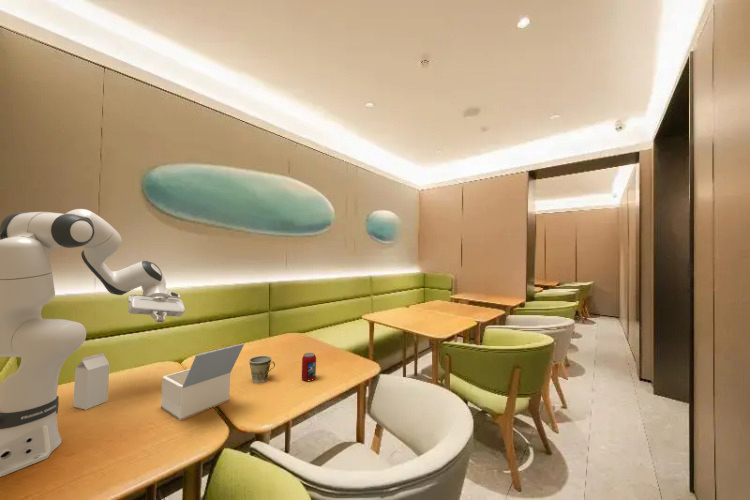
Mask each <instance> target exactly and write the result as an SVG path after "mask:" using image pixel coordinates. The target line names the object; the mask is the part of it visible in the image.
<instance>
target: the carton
mask: <svg viewBox="0 0 750 500" xmlns="http://www.w3.org/2000/svg"><path fill="white" fill-rule="evenodd" d="M189 370H190V368H188V369H184V370H181V371H177V372H173V373H169V374H167V375H166V374H165V375H162V378H161V379H162V381H161V400H160V408H161V410H164V411H165V412H166V413H167V414H169V415H171V416H172V417H174V419H177V420H178V421H180V422H182V421H184V420H186V419H189V418H190V417H191V418H192V417H193V416H196V415H198V413H199V414H201V413H203V412H206V411H208V410H210V409H209V408H211V409H213V408H215V407H218V406H220V405H223V404H225V403H227V402H230V389H231V388H230V385H231V373H228V374H225V375H221V376H218V377H215V378H212V379H209V380H206V381H203V382H200V383H197V384H194V385H191V386H188V387H185V388H183V384H184V382H185V380H186V377H187V375H188V373H189ZM212 407H213V408H212ZM207 409H208V410H207ZM205 410H206V411H205ZM202 411H203V412H202ZM200 412H201V413H200Z"/></svg>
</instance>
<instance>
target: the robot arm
mask: <svg viewBox="0 0 750 500" xmlns="http://www.w3.org/2000/svg"><path fill="white" fill-rule="evenodd" d="M122 241H123V240H122V236H121V234H120V233H119V231H118V230H116V229H115V227H113V226H112V225H111V224H110V223H109V222H107V220H105V219H104V218H102V217H101V216H99V215H98V214H96V213H94V212H93V211H91V210H89V209H85V208H75V209H72V210H70V211H67V212H65V213H60V212H51V211H34V212H33V211H22V212H16V213H12V214H9V215H7V216H5V218H3V220H2V221H1V223H0V358H20V359H21V360H20V364H19V366H18V368H17V369H16V371H14V372H13V373H11V374H9V375H7V376H6V377H5V378H4V379H3V380H2V381H1V383H0V478H1V477H4V476H6V475H9V474H11V473H13V472H16V471H19V470H21V469H24V468H26V467H29V466H31V465H33V464H37V463H39V462H41V461H43V460H46V459H48V458H49V457H50V456H51V454H52V452H53V451H54V450H55V449H57V448H58V447H59V446H60V445H61V444H62V441H63V440H62V437H61V435H60V432H59V429H58V428H59V427H58V419H57V418H58V417H57V414H59V413H58V412H59V406H60V404H59V398H60V397H59V395H58V385H59V377H60V374H61V369H62V367H63V365H64V363H65V362H66V360H68V358H69V357H70V356H71V355H72V354H74V353H75V352H76V351H78V350H79V349H80V348H81V347H82V346H83V344H84V342H85V341H86V338H87V329H86V328H85V326H84V325H83V324H82V323H80V322H78V321H73V320H70V319H69V320H68V319H65V318H43V317H42V310H43V308H44V306H46V305H47V304H49V303H50V302H51V301H53V299H54V298H55V297H56V291H55V283H54V277H53V270H52V265H51V261H50V259H49V258H50V257H49V256H50V253H51V251H52V249H62V248H66V249H73V248H78V247H79V248H80V247H81V248H82V249H83V250H82V251H81V252H80V253H81V259H82V261H83V263H84V264H85V265H86V267H87V268H88V269H89V270H90V271H91V272H92V274H94V275H95V276H96V278H97V279H98V280H99V281H100V282H101V283H102V285H103V286H104V288H105V289H106V291H107V292H108V293H109V294H111V295H116V296H123V295H125V294H127V293H129V292H131V291H134V290H135V289H137V288H139V287H141V289H142V295H141V294H140V295H139V294H131V295H128V296H127V302H128V307H127V312H128V313H129V314H131V315H143V316H144V315H146V316H147V315H148V316H150V317H151V318H152V319H153V320H154V322H155V323H164V322H165V320H166V317H179V318H180V317H181V316H183V314H184V313H185V311H186V307H185V304H184V301H183V300H182V299H181V295H180V294H179V293H177V292H173V291H171V290H169V289H167V284H166V279H165V276H164V274H163V272H162V270H161V269H160V267H159V266H158V265H157V264H156V263H154V262H152V261H149V260H148V261H147V260H141V261H139V262H136V263H133V264H132V265H129V266H127V267H125V268H122V269H119V270H115V271H112V270H111V269H110V268H109V267H108V265H107V264H106V263H105V262H106V261H108V259H110V258H111V257H112V256H114V255H116V253H117V252H118V251H119V250H120V249H121V247H122V243H123V242H122Z"/></svg>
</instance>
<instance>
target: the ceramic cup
mask: <svg viewBox="0 0 750 500" xmlns="http://www.w3.org/2000/svg"><path fill="white" fill-rule="evenodd" d="M248 362H249V367H250V373H251V374H250V375H251V380H252V382H253V383H256V384H257V383H264V382H265V381H267V380H268V377H269V373H270V372H271V371H272V370H273V369H274V368H275V366H276V363H275V361H272V357H271V356H269V355H258V356H254V357H253V356H252V357H251V358H250V359H249V361H248ZM271 364H273V367H271V368H270V366H271Z"/></svg>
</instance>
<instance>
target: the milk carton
mask: <svg viewBox="0 0 750 500" xmlns="http://www.w3.org/2000/svg"><path fill="white" fill-rule="evenodd" d="M110 367H111V365H110V362H109V361H108V359H107V357H106V356H105V352H101V353H98V354H94V355H90V356H85V357H82V358H81V361H80V363H79V364H78V365H76V367H75V371H74V374H75V375H74V386H73V387H74V388H73V389H74V390H73V401H72V402H73V403H72V404H73V405H72V407H73V408H77V409H80V410H81V409H82V410H88V409H91V408H93V407H96V406H98V405H101V404H104V403H106V402H108V397H109V380H110V379H109V378H110Z"/></svg>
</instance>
